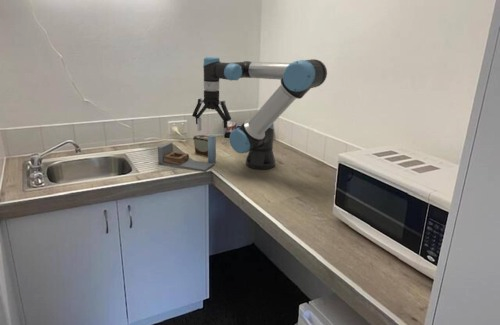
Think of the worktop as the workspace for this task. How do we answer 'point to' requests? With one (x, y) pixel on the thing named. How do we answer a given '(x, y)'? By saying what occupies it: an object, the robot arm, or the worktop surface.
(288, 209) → the worktop surface
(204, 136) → the food container
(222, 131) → the robot arm
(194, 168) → the board
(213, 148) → the dowel
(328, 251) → the worktop surface
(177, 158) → the socket block
